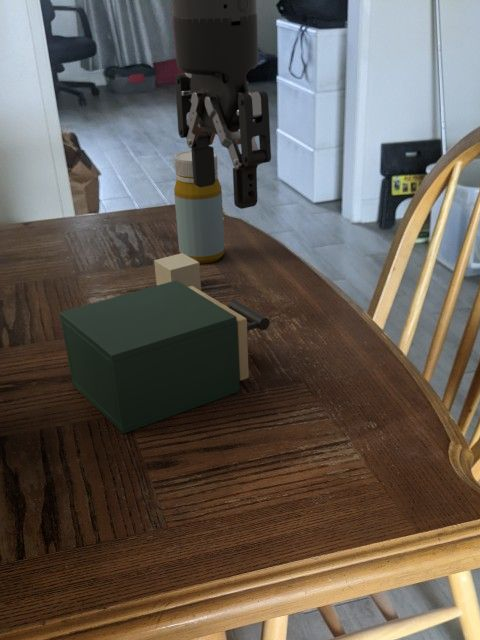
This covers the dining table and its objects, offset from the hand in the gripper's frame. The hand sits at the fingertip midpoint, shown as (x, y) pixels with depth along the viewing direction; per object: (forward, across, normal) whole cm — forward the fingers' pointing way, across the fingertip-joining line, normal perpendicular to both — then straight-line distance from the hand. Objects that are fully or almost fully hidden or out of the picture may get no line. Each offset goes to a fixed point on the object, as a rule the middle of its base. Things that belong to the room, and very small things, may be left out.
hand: (224, 195), depth 79 cm
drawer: (+20, -2, -5) cm, 20 cm away
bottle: (+21, -36, +15) cm, 44 cm away
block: (+20, -25, +5) cm, 33 cm away
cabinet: (+20, -2, -9) cm, 22 cm away
